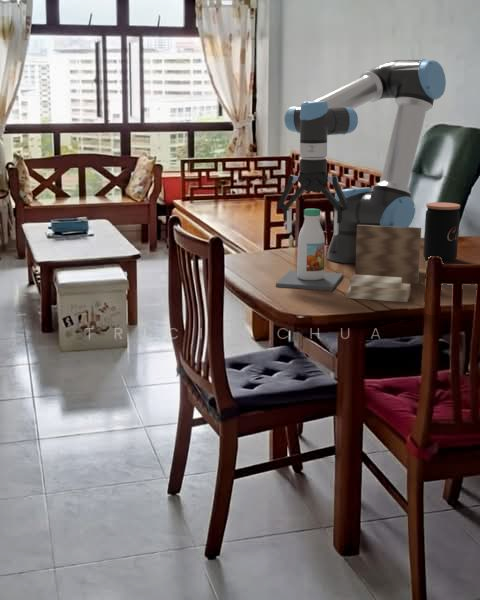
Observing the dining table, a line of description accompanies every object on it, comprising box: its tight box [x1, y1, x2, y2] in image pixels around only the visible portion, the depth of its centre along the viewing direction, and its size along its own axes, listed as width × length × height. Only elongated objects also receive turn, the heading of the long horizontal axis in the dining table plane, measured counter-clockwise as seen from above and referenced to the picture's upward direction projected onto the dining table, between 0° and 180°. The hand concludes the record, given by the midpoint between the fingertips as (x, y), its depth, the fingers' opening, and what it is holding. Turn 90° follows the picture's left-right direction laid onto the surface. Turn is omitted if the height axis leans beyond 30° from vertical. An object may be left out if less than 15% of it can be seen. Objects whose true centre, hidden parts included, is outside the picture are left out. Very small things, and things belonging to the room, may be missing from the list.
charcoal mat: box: [275, 269, 344, 292], centre depth 243 cm, size 16×18×1 cm
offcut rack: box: [345, 225, 422, 303], centre depth 233 cm, size 18×26×16 cm
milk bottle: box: [296, 207, 326, 281], centre depth 240 cm, size 8×8×20 cm
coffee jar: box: [422, 201, 461, 263], centre depth 272 cm, size 11×11×18 cm
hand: (312, 233), depth 240 cm, fingers open, 13 cm apart
